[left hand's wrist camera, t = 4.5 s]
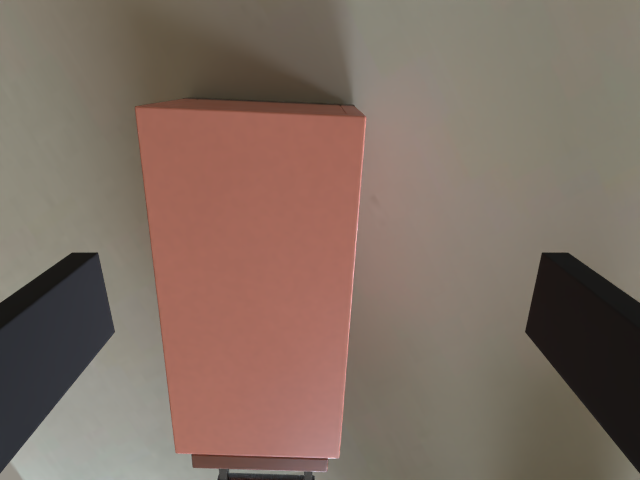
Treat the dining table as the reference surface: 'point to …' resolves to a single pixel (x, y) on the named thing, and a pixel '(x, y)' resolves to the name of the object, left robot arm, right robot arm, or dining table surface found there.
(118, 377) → the dining table surface
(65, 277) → the left robot arm
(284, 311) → the salmon pink box
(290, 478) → the drawer
